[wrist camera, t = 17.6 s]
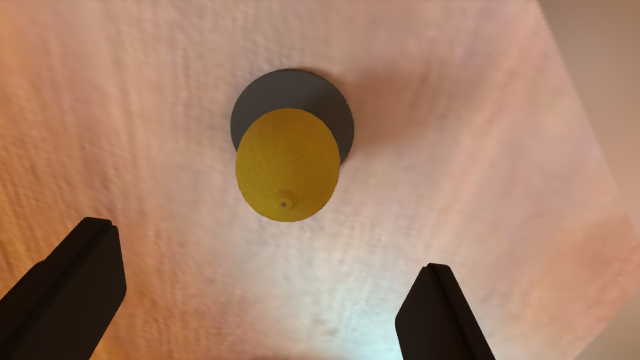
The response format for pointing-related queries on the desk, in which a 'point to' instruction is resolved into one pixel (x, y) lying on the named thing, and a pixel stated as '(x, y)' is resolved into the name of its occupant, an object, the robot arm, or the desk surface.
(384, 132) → the desk surface
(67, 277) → the robot arm
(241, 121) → the coaster
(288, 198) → the lemon
